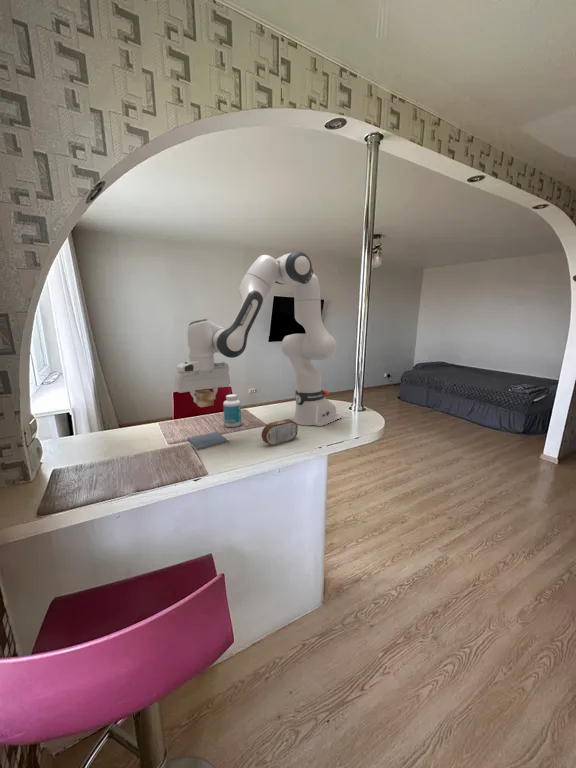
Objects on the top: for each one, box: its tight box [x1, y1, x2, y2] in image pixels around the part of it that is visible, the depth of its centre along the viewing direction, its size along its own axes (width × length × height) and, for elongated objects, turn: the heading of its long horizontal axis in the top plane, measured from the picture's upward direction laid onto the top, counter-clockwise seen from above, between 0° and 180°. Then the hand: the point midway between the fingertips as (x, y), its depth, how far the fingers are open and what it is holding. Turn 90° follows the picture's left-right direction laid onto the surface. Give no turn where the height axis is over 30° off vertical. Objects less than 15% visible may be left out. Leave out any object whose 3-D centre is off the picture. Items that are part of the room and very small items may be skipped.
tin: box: [261, 418, 299, 446], centre depth 124 cm, size 15×3×8 cm, turn 124°
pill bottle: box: [222, 393, 243, 428], centre depth 145 cm, size 8×7×14 cm
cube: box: [195, 389, 215, 408], centre depth 124 cm, size 5×5×5 cm
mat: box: [187, 431, 230, 451], centre depth 128 cm, size 12×12×1 cm
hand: (204, 400), depth 124 cm, fingers closed on cube, 5 cm apart
